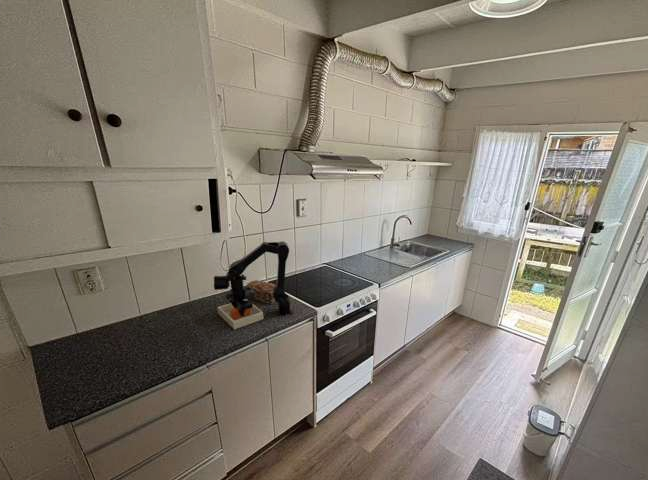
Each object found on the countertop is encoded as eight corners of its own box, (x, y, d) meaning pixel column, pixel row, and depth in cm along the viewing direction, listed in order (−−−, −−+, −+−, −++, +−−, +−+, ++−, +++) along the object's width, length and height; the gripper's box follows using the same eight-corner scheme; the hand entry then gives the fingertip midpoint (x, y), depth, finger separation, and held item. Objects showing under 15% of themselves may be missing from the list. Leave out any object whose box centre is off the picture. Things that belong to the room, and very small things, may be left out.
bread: (245, 298, 175) (244, 283, 171) (257, 291, 184) (256, 277, 180) (272, 305, 169) (270, 290, 165) (283, 298, 178) (282, 283, 174)
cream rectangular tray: (263, 319, 155) (263, 312, 153) (234, 330, 145) (233, 322, 143) (246, 305, 168) (246, 298, 166) (218, 314, 157) (217, 306, 155)
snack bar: (250, 314, 157) (249, 307, 156) (233, 319, 151) (232, 312, 150) (247, 311, 160) (246, 304, 158) (230, 316, 154) (229, 309, 152)
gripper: (261, 289, 149) (263, 316, 155) (244, 278, 161) (247, 303, 167) (239, 295, 141) (242, 324, 147) (223, 283, 153) (227, 309, 159)
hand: (240, 314), depth 155 cm, fingers closed on snack bar, 4 cm apart
